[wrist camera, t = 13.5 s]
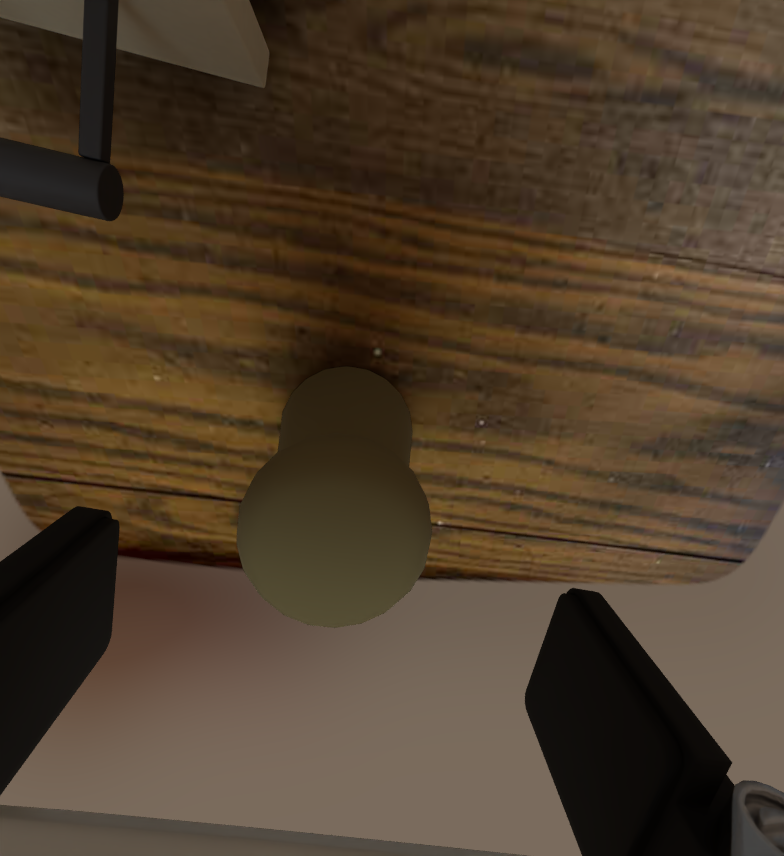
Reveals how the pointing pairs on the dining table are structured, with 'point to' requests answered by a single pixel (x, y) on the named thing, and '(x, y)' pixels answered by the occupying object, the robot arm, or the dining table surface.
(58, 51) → the dining table surface
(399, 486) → the olive rounded figure
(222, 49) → the drawer
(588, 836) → the robot arm
